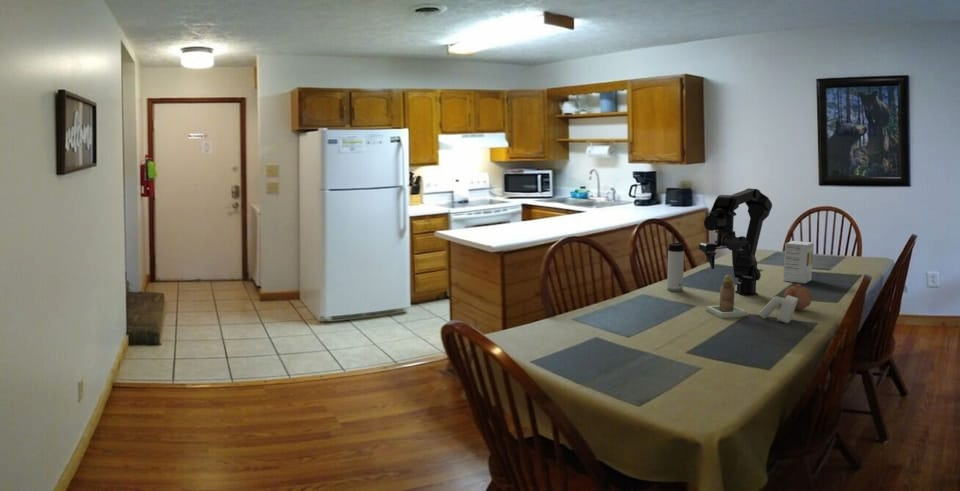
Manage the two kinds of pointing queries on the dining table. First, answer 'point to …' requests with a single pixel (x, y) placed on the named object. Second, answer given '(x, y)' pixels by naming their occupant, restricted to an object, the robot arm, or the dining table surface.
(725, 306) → the pepper mill
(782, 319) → the wall hook
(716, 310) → the keeper dish
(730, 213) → the robot arm
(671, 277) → the travel mug
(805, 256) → the supplement box
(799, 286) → the onion
